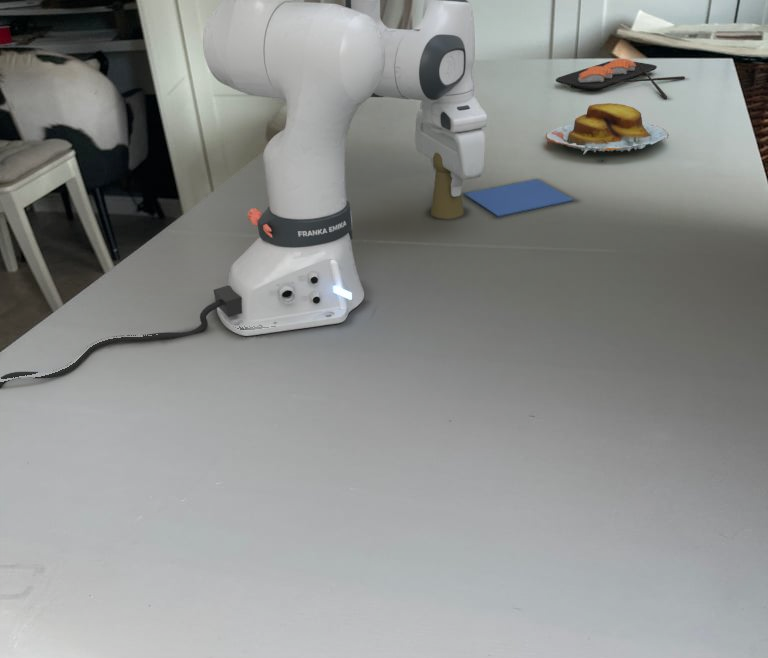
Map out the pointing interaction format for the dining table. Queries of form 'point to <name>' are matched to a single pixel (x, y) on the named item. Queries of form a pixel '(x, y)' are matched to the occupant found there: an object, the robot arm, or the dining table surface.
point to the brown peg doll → (444, 193)
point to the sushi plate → (611, 75)
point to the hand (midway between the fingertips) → (447, 190)
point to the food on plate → (608, 130)
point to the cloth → (518, 197)
